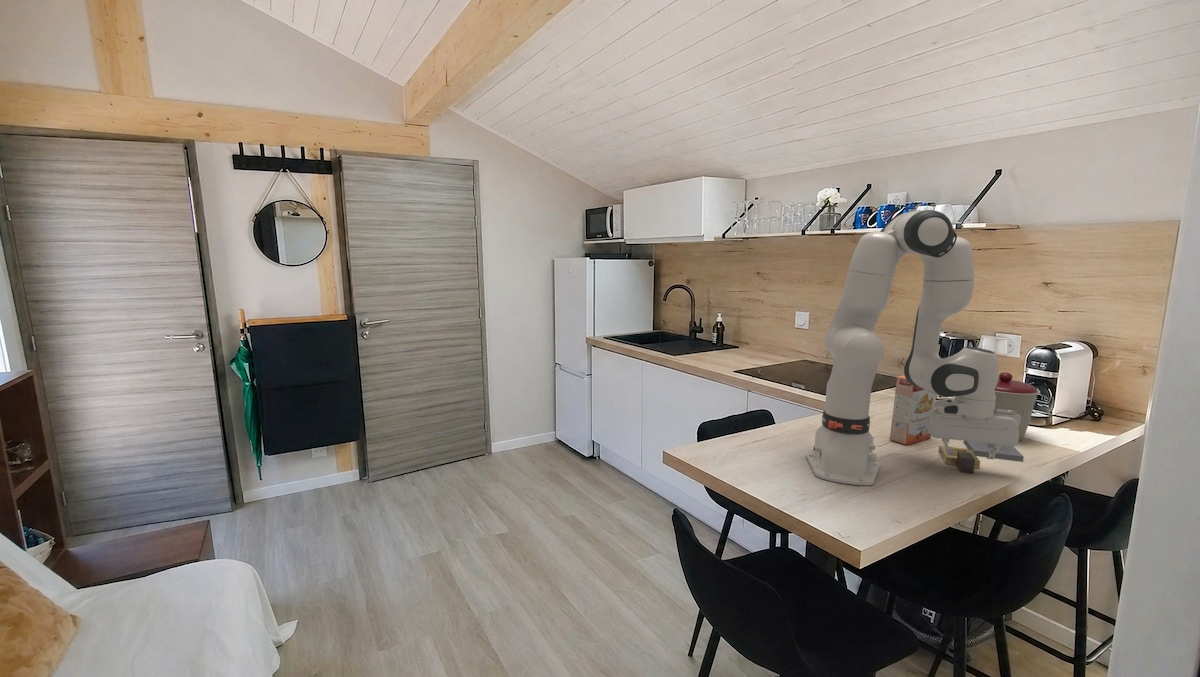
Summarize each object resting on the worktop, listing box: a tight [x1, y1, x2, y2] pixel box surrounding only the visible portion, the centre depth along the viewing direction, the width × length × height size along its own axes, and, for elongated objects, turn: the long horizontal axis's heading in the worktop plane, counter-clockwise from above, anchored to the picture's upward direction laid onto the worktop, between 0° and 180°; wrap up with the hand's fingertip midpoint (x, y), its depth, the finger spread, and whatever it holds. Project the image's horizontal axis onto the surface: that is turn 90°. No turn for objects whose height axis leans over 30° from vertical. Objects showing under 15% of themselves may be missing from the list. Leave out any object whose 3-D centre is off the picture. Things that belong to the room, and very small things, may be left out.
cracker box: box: [889, 374, 937, 446], centre depth 169 cm, size 14×6×21 cm, turn 121°
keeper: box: [962, 440, 1024, 462], centre depth 160 cm, size 12×12×12 cm
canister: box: [995, 372, 1041, 440], centre depth 174 cm, size 18×18×21 cm
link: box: [937, 445, 981, 474], centre depth 152 cm, size 15×8×4 cm, turn 158°
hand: (969, 456), depth 146 cm, fingers open, 8 cm apart
